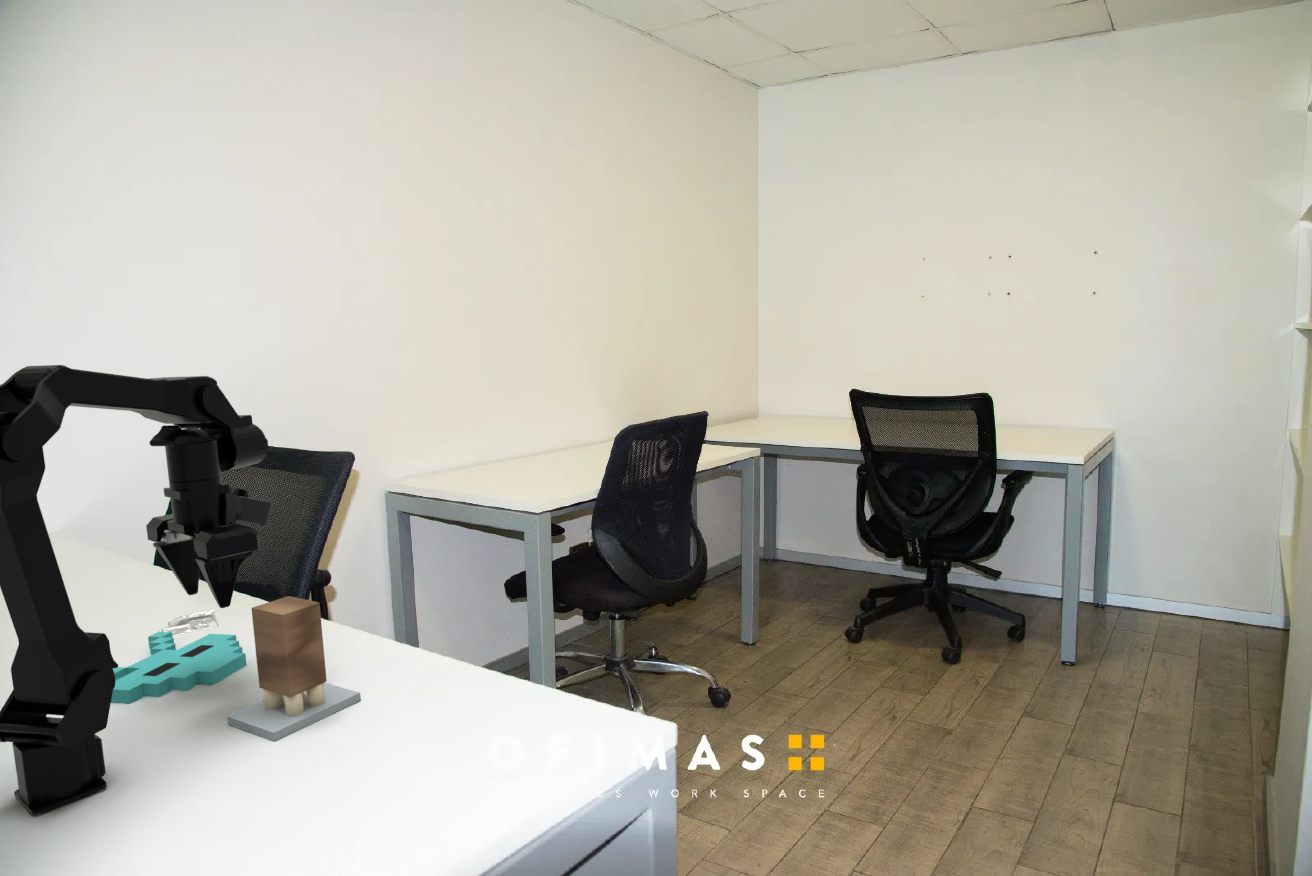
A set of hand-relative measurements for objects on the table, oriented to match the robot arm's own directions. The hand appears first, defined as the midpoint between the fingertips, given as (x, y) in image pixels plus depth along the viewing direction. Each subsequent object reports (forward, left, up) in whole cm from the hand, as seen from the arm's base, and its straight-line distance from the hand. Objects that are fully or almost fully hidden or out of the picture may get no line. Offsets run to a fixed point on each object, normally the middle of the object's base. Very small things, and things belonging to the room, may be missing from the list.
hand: (208, 600), depth 107 cm
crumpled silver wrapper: (+10, +34, -14) cm, 38 cm away
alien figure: (0, +16, -14) cm, 21 cm away
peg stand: (+4, -12, -13) cm, 18 cm away
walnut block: (+4, -12, -10) cm, 16 cm away
